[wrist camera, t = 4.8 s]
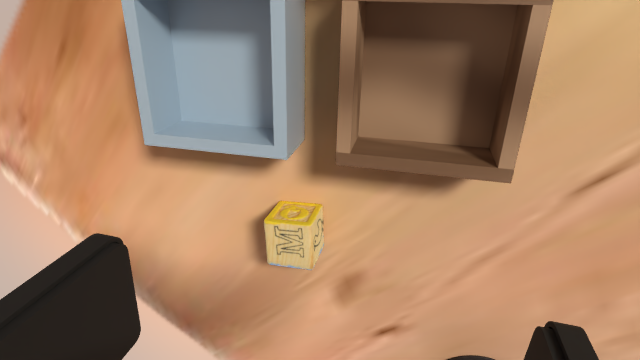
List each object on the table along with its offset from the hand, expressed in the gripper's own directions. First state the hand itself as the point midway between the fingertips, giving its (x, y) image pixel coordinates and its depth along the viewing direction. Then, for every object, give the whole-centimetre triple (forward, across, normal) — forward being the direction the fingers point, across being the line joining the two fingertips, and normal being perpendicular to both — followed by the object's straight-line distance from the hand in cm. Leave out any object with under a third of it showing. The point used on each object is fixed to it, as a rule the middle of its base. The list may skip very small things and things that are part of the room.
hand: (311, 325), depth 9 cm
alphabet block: (+16, +4, +7) cm, 18 cm away
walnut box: (+16, -2, -3) cm, 16 cm away
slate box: (+16, +9, -3) cm, 18 cm away
